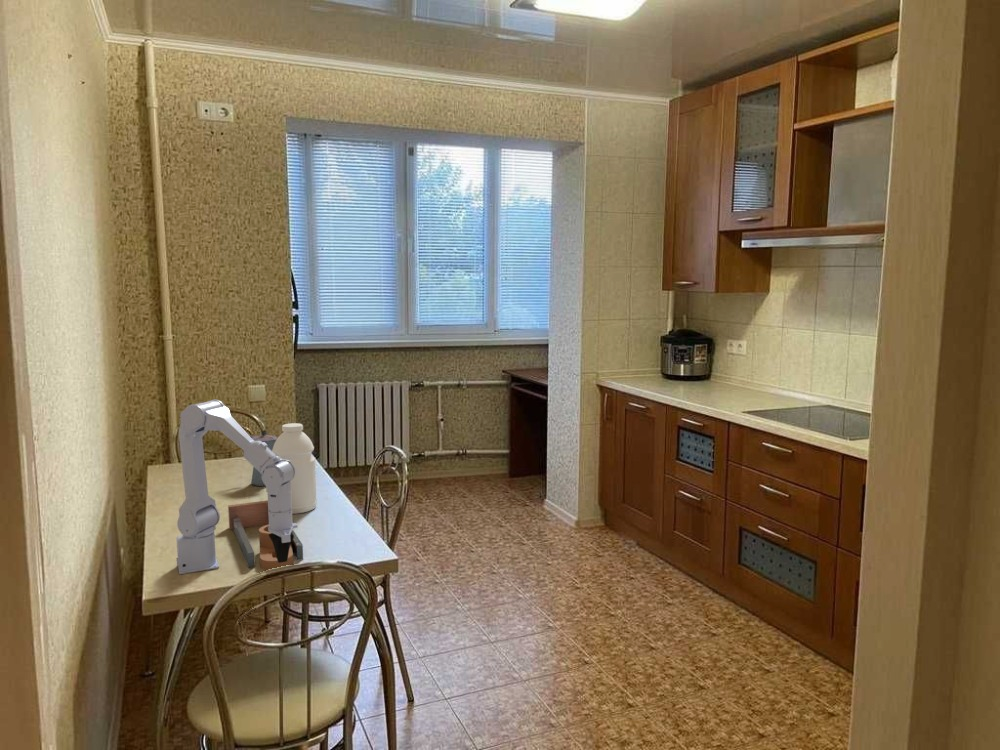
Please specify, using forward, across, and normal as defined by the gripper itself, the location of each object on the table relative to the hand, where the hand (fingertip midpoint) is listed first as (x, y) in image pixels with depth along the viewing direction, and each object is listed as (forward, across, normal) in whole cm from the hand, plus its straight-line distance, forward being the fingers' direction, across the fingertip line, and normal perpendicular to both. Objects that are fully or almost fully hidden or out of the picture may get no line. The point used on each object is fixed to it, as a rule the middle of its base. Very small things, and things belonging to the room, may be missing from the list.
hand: (282, 561), depth 186 cm
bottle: (+4, +56, -14) cm, 58 cm away
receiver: (+4, +26, 0) cm, 27 cm away
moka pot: (+4, +92, -9) cm, 93 cm away
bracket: (+4, +14, -1) cm, 14 cm away
